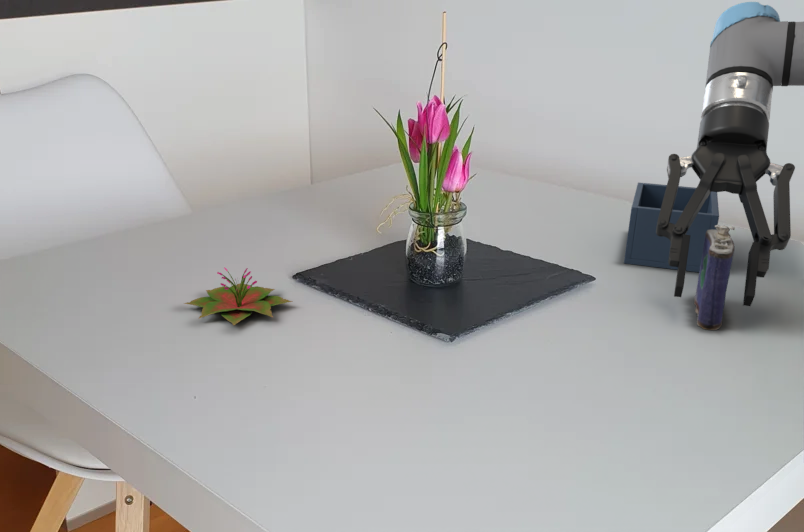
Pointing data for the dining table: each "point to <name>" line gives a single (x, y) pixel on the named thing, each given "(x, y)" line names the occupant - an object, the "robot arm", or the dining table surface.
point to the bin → (644, 217)
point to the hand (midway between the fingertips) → (713, 296)
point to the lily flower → (237, 300)
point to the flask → (713, 277)
